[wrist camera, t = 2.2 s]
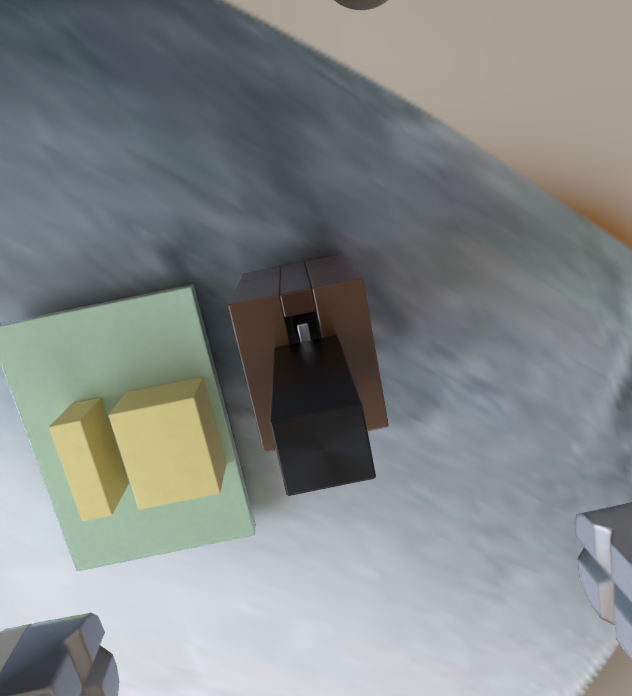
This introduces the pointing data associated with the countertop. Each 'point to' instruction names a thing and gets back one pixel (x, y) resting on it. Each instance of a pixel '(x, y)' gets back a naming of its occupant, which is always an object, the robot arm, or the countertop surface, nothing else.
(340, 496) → the countertop surface
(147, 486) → the butter block
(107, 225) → the countertop surface
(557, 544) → the countertop surface
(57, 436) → the butter slice
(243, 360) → the knife block
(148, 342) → the butter dish
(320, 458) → the knife
